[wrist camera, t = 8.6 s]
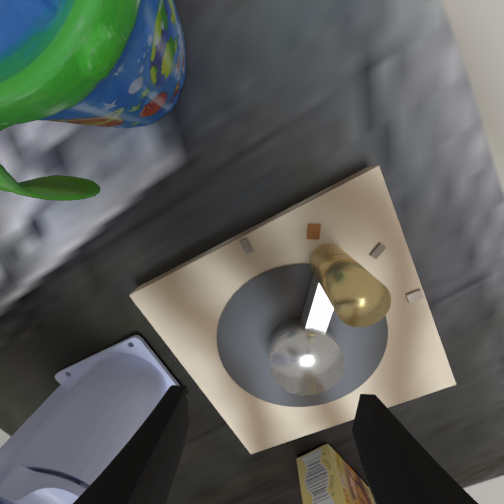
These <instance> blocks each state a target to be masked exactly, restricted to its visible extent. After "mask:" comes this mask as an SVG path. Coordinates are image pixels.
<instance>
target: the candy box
mask: <svg viewBox="0 0 504 504" xmlns="http://www.w3.org/2000/svg"><path fill="white" fill-rule="evenodd" d="M296 461H297V467H298V474H299V481H300V487H301V494H302V501H303V504H375V502H374V499H373V496H372V494H371V491H370V488H369V487H368V486H367V485H366V484H365V483H364V481H363V480H362V479H361V478H360V477H359V476H358V475H357V474H356V473H355V472H354V471H353V470H352V469H351V467H350V466H349V465H348V464H347V463H346V462H345V461H344V460H343V459H342V458H341V457H340V456H339V455H338V454H337V453H336V452H335V450H334V449H333V448H332V447H331V446H330V445H329V444H325V445H323V446H321V447H319V448H317V449H315V450H313V451H311V452H309V453H307V454H305V455H303V456H300V457H298V458H297V460H296Z"/></svg>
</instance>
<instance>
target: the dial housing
mask: <svg viewBox="0 0 504 504" xmlns="http://www.w3.org/2000/svg"><path fill="white" fill-rule="evenodd" d="M324 244H335V245H337V246H339V247H340V248H342V249H343V250H344V251H345V252H346V253H347V254H349V255H350V256H351V257H352V258H353V259H354V260H356V261H357V262H358V263H359V264H360V265H361V266H363V267H364V268H365V269H366V270H367V271H368V272H370V273H371V274H372V275H373V276H374V277H375V278H376V279H378V280H379V281H380V282H381V283H382V284H383V285H385V286H386V287H387V289H388V290H389V292H390V295H391V306H390V309H389V311H388V313H387V314H386V315H385V317H384V318H383V319H382V320H380V321H379V322H377V323H376V324H374V325H371V326H368V327H352V326H349V325H347V324H345V323H344V322H342V321H341V320H340V318H339V317H338V315H337V313H336V312H335V310H334V309H333V312H332V315H331V318H330V321H329V324H328V327H329V328H330V330H331V331H332V333H333V335H334V337H335V339H336V342H337V344H338V346H339V348H340V350H341V352H342V354H343V357H344V361H345V367H344V372H343V374H342V376H341V378H340V380H339V381H338V382H337V383H336V384H335V385H334V386H333V387H331V388H330V389H328V390H326V391H324V392H322V393H319V394H314V395H297V394H293V393H290V392H287V391H285V390H284V389H282V388H281V387H279V386H278V385H277V384H276V382H275V381H274V380H273V378H272V375H271V372H270V361H269V338H270V336H271V334H272V332H273V330H274V329H275V328H276V327H277V326H278V325H279V324H280V323H282V322H284V321H286V320H288V319H290V318H294V317H300V316H302V313H303V309H304V306H305V302H306V299H307V295H308V292H309V288H310V285H311V281H312V278H313V275H314V273H313V272H312V270H311V268H310V263H309V261H310V257H311V254H312V253H313V251H314V250H315V249H316V248H318V247H319V246H321V245H324ZM129 296H130V297H131V299H132V300H133V301H134V303H135V304H136V305H137V306H138V308H139V309H140V310H141V312H142V313H143V314H144V316H145V317H146V318H147V320H148V321H149V322H150V323H151V325H152V326H153V327H154V329H155V330H156V331H157V333H158V334H159V335H160V336H161V338H162V339H163V340H164V342H165V343H166V344H167V346H168V347H169V348H170V349H171V351H172V352H173V353H174V355H175V356H176V357H177V359H178V360H179V361H180V363H181V364H182V365H183V366H184V368H185V369H186V370H187V372H188V373H189V374H190V376H191V377H192V378H193V379H194V381H195V382H196V383H197V385H198V386H199V387H200V389H201V390H202V391H203V392H204V394H205V395H206V396H207V398H208V399H209V400H210V402H211V403H212V404H213V406H214V407H215V408H216V409H217V411H218V412H219V413H220V415H221V416H222V417H223V419H224V420H225V421H226V422H227V424H228V425H229V426H230V428H231V429H232V430H233V432H234V433H235V434H236V436H237V437H238V438H239V439H240V441H241V442H242V443H243V445H244V446H245V447H246V449H247V450H248V451H249V452H250V454H253V453H256V452H259V451H262V450H265V449H268V448H271V447H274V446H277V445H279V444H282V443H285V442H288V441H291V440H294V439H297V438H300V437H303V436H306V435H309V434H312V433H315V432H318V431H321V430H324V429H327V428H330V427H332V426H335V425H338V424H341V423H344V422H347V421H350V420H353V419H355V415H356V410H357V406H358V402H359V397H360V394H375V395H376V396H377V397H378V398H379V399H380V400H381V401H382V403H383V404H384V405H385V406H386V407H387V408H388V407H391V406H394V405H397V404H400V403H403V402H406V401H409V400H412V399H415V398H418V397H421V396H424V395H427V394H430V393H433V392H435V391H438V390H441V389H444V388H447V387H450V386H453V385H456V383H455V380H454V377H453V374H452V371H451V368H450V366H449V363H448V360H447V357H446V354H445V351H444V349H443V346H442V343H441V340H440V337H439V334H438V332H437V329H436V326H435V323H434V320H433V317H432V314H431V312H430V309H429V306H428V303H427V300H426V297H425V295H424V292H423V289H422V286H421V283H420V280H419V278H418V275H417V272H416V269H415V266H414V263H413V261H412V258H411V255H410V252H409V249H408V246H407V244H406V241H405V238H404V235H403V232H402V229H401V227H400V224H399V221H398V218H397V215H396V212H395V210H394V207H393V204H392V201H391V198H390V195H389V193H388V190H387V187H386V184H385V181H384V178H383V175H382V173H381V170H380V167H379V166H369V167H366V168H364V169H362V170H360V171H358V172H357V173H355V174H353V175H351V176H349V177H347V178H345V179H343V180H341V181H339V182H337V183H336V184H334V185H332V186H330V187H328V188H326V189H324V190H322V191H320V192H318V193H316V194H314V195H313V196H311V197H309V198H307V199H305V200H303V201H301V202H299V203H297V204H295V205H293V206H292V207H290V208H288V209H286V210H284V211H282V212H280V213H278V214H276V215H274V216H272V217H270V218H269V219H267V220H265V221H263V222H261V223H259V224H257V225H255V226H253V227H251V228H249V229H248V230H246V231H244V232H242V233H240V234H238V235H236V236H234V237H232V238H230V239H228V240H226V241H225V242H223V243H221V244H219V245H217V246H215V247H213V248H211V249H209V250H207V251H205V252H204V253H202V254H200V255H198V256H196V257H194V258H192V259H190V260H188V261H186V262H184V263H182V264H181V265H179V266H177V267H175V268H173V269H171V270H169V271H167V272H165V273H163V274H161V275H160V276H158V277H156V278H154V279H152V280H150V281H148V282H146V283H144V284H142V285H140V286H139V287H138V288H136V289H135V290H134V291H133V292H132V293H131V294H130V295H129Z"/></svg>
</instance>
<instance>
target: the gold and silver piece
mask: <svg viewBox="0 0 504 504" xmlns="http://www.w3.org/2000/svg"><path fill="white" fill-rule="evenodd" d="M309 263H310V268H311V270H312V272H313V273H314V275H313V278H312V281H311V285H310V288H309V292H308V295H307V299H306V302H305V306H304V309H303V313H302V316H300V317H294V318H290V319H288V320H286V321H284V322H282V323H280V324H279V325H278V326H277V327H276V328H275V329H274V330H273V332H272V334H271V336H270V338H269V361H270V372H271V375H272V378H273V380H274V381H275V382H276V384H277V385H278V386H279V387H281V388H282V389H284V390H285V391H287V392H290V393H293V394H297V395H314V394H319V393H322V392H324V391H326V390H328V389H330V388H331V387H333V386H334V385H335V384H336V383H337V382H338V381H339V380H340V378H341V376H342V374H343V372H344V367H345V361H344V357H343V354H342V352H341V350H340V348H339V346H338V344H337V342H336V339H335V337H334V335H333V333H332V331H331V330H330V328H329V327H328V324H329V321H330V318H331V315H332V312H333V309H334V310H335V312H336V313H337V315H338V317H339V318H340V320H341V321H342V322H344V323H345V324H347V325H349V326H352V327H368V326H371V325H374V324H376V323H377V322H379V321H380V320H382V319H383V318H384V317H385V315H386V314H387V313H388V311H389V309H390V306H391V295H390V292H389V290H388V289H387V287H386V286H385V285H383V284H382V283H381V282H380V281H379V280H378V279H376V278H375V277H374V276H373V275H372V274H371V273H370V272H368V271H367V270H366V269H365V268H364V267H363V266H361V265H360V264H359V263H358V262H357V261H356V260H354V259H353V258H352V257H351V256H350V255H349V254H347V253H346V252H345V251H344V250H343V249H342V248H340V247H339V246H337V245H335V244H324V245H321V246H319V247H318V248H316V249H315V250H314V251H313V253H312V254H311V257H310V261H309Z"/></svg>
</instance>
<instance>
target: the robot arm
mask: <svg viewBox="0 0 504 504" xmlns="http://www.w3.org/2000/svg"><path fill="white" fill-rule="evenodd" d="M130 342H131V343H133V344H131V343H130ZM55 379H56V380H57V381H58V382H59V383H60V384H61V385H60V386H59V387H58V388H57V389H56V390H55V391H54V392H53V393H52V394H51V395H50V396H49V397H48V398H47V400H46V401H45V402H44V403H43V404H42V405H41V406H40V407H39V408H38V409H37V410H36V411H35V412H34V413H33V414H32V415H31V416H30V417H29V418H28V420H27V421H26V422H25V423H24V424H23V425H22V426H21V427H20V428H19V429H18V430H17V431H16V432H15V433H14V434H13V435H12V436H11V437H10V438H9V440H8V441H7V442H6V443H5V444H4V445H3V446H2V447H1V448H0V504H166V502H167V498H168V495H169V492H170V489H171V486H172V483H173V480H174V477H175V473H176V470H177V467H178V464H179V461H180V457H181V454H182V451H183V446H184V442H185V438H186V433H187V428H188V424H189V416H188V401H187V397H188V395H187V387H186V386H180V385H179V383H178V382H177V381H176V380H175V378H174V377H173V376H172V375H171V373H170V372H169V371H168V370H167V368H166V367H165V366H164V365H163V363H162V362H161V361H160V360H159V358H158V357H157V356H156V355H155V353H154V352H153V351H152V350H151V348H150V347H149V346H148V345H147V343H146V342H145V341H144V340H143V338H142V337H141V336H139V335H134V336H132V337H130V338H128V339H126V340H123V341H121V342H119V343H117V344H115V345H113V346H111V347H109V348H107V349H105V350H103V351H101V352H99V353H96V354H94V355H92V356H90V357H88V358H86V359H84V360H82V361H80V362H78V363H76V364H74V365H72V366H69V367H67V368H65V369H63V370H61V371H59V372H58V373H57V374H56V375H55ZM352 431H353V435H354V438H355V442H356V446H357V449H358V453H359V456H360V460H361V463H362V466H363V468H364V471H365V474H366V476H367V479H368V482H369V484H370V487H371V489H372V492H373V495H374V497H375V500H376V503H377V504H478V503H477V502H476V501H475V500H474V499H473V498H472V497H471V496H470V495H469V494H468V493H466V492H465V490H464V489H463V488H462V487H461V486H460V485H459V484H458V483H457V482H456V481H455V480H454V479H453V478H452V477H451V476H450V475H449V474H448V473H447V472H446V471H445V470H444V469H443V468H442V467H441V466H440V465H439V464H438V463H437V462H436V461H435V460H434V459H433V458H432V457H431V456H430V455H429V453H428V452H427V451H426V450H425V449H424V448H423V447H422V446H421V445H420V444H419V443H418V442H417V441H416V439H415V438H414V437H413V436H412V435H411V434H410V433H409V432H408V431H407V430H406V428H405V427H404V426H403V425H402V424H401V423H400V422H399V421H398V419H397V418H396V417H395V416H394V415H393V414H392V413H391V412H390V410H389V409H388V408H387V407H386V406H385V405H384V404H383V403H382V401H381V400H380V399H379V398H378V397H377V396H376V395H375V394H360V397H359V402H358V406H357V410H356V415H355V419H354V424H353V428H352Z"/></svg>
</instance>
